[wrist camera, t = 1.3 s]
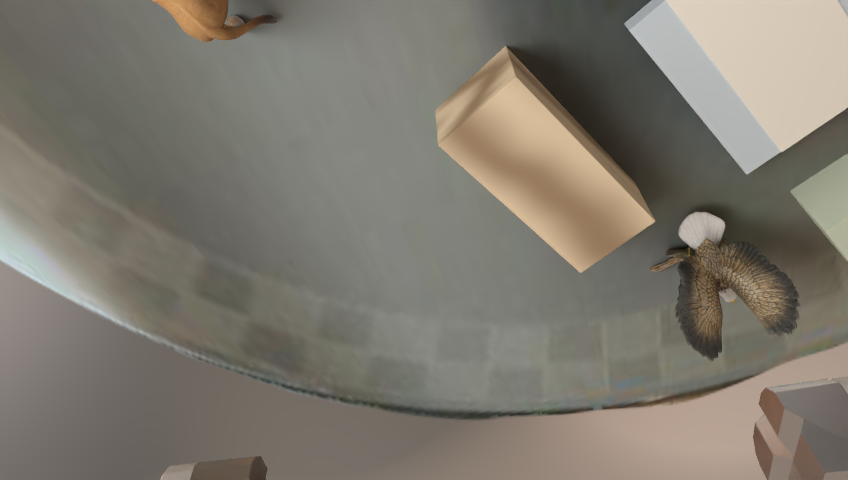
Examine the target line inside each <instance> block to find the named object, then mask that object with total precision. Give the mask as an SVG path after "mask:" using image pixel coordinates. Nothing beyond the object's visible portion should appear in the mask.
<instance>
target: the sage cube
mask: <svg viewBox="0 0 848 480" xmlns="http://www.w3.org/2000/svg"><path fill="white" fill-rule="evenodd" d="M790 192H791V193H792V194H793V196H794V197H795V198H796V200H797V201H798V202H799V203H800V205H801V206H802V207H803V209H804V210H805V211H806V212H807V214H808V215H809V216H810V217H811V219H812V220H813V221H814V223H815V224H816V225H817V226H818V228H819V229H820V230H821V231H822V233H823V234H824V235H825V236H826V237H827V238H828V240H829V241H830V242H831V243H832V244H833V245H834V246H835V248H836V249H837V250H838V251H839V252H840V253H841V255H842V256H843V257H844V258H845V259H846V260H847V262H848V154H846V155H844V156H843V157H841V158H840V159H838V160H837V161H835V162H834V163H832V164H831V165H829V166H828V167H826V168H824V169H823V170H821V171H820V172H818V173H817V174H815V175H814V176H812V177H811V178H809V179H808V180H806V181H804V182H803V183H801V184H800V185H798V186H797V187H795V188H794V189H792V190H791V191H790Z"/></svg>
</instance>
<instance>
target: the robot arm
mask: <svg viewBox="0 0 848 480" xmlns="http://www.w3.org/2000/svg"><path fill="white" fill-rule="evenodd" d="M759 405H760V407H761V409H762V410H763V412H764V415H763V416H762V417H761V418H760V419H759V420H758V421H756V422H755V427H754V435H753V439H754V445H755V451H756V456H757V458H758V461H759V464H760V466H761V469H762V471H763V472H764V474H765V476H766V478H767V480H848V377H842V378H834V379H830V380H829V379H822V380H816V381H808V382H802V383H795V384H788V385H781V386H774V387H767V388H765V389H764V390H763V391H762V393H761V396H760V401H759ZM266 474H267V466H266V465H265V463H264V461H263V459H262V457H261V456H258V457H257V456H256V457H247V458H237V459H228V460H219V461H209V462H199V463H191V464H183V465H175V466H169V467H168V469H167V470H166V471H165V473H164V474H163V476H162V477H161V480H266Z"/></svg>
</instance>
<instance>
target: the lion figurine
mask: <svg viewBox="0 0 848 480" xmlns="http://www.w3.org/2000/svg"><path fill="white" fill-rule="evenodd" d="M151 1H153V2H155V3H157V4H159V5H160V6H162V7H164V8H165V9H166V10H167V11H169V12H170V13H171V15H172V16H173V17H174V18H175V20H176V21H177V23H178V24H179V25H180V26H181V28H182V29H183V30H184V31H185V32H186V33H187V34H188V35H190V36H192V37H194V38H196V39H198V40H201V41H203V42H208V41H211V40H213V39H218V40H231V39H236V38H238V37H240V36H241V35H243V34H245V33H246V32H248V31H249V30H250V29H252V28H253V27H255V26H258V25H260V24H263V23H276V22H277V18H275V17H273V16H271V15H262V16H259V17H256V18H254V19H252V20H250V21H248V22H247V23H244V22H243V20H242V19H241V18H239V17H238V16H235V15H233V16H231V17H228V19H227V22H228V25H225V24H224V23H225V20H226V18H227V13H228V0H151Z"/></svg>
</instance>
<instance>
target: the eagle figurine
mask: <svg viewBox="0 0 848 480" xmlns="http://www.w3.org/2000/svg"><path fill="white" fill-rule="evenodd" d="M724 230H725V222H724V221H723V220H721V219H720V218H719V217H716V216H714V215H712V214H710V213H708V212H694V213H693V214H690V215H688V216H687V217H686V218H685V219H684V220H683V222H682V224H681V225H680V227H679V231H678V235H679V237H680V238H681V239H682V240H683V241H684V242H685V243H686V244H688V245H689V246H690V247H688V248H687V249H669V250H667V251H666V253H667V254H666V256H667V257H670V256H673V257H671V258H670V259H668V260H667V261H665V262H663V263H661V264H658V265H655V266H653V267H652V268H651V271H654V272H655V271H663V270H665V269H666V268H667V267H670V266H672V265H675V264H677V263H678V262H680V261H681V263H680V264H679V266H678V268H677V271H678V272H679V275H680V277H681V279H680V282H681V284H680V286H679V288H678V289H679V297H678V298H677V299H678V304H677V305H676V308H675V311H676V318H679V320H678V323H679V324H680V325H681V326H680V328H681V330H682V331H683V334H684V337H685V338H686V340H687V343H688V345H691V346H692V348H693V349H694V350H695V351H697V352H699V354H700V355H701V356H702V357H704V356H706V357H707V358H708V359H709V360H710V361H713V360H714V358H718V352H719V353H721V352H722V340H721V338H722V337H721V335H722V334H721V328H722V318H723V315H722V308H721V304H720V299H719V294H720V296H722V297H723V298H724V300H725V301H726V302H733V303H735V302H736V300H735V299H736V297H737V296H736V294H737V295H738V296H739V297H740V298H741V299H742V300H743V301H744V303H745V304H746V305H747V306H748V307H749V308H750V309H751V310H752V311H753V313H754V314H755V315H756V317H757V318H758V320H759V321H760V322H761V324H762V325H763V327H764V329H765V330H766V331H767V332H768V334H769V335H774V334H777V335H778V336H782V335H783V334H784V333H785V334H787V335H791V334H792V330H796V329H797V324H796V321H798V320H799V313H798V311H797V310H796V308H799V307H800V303H799V302H798V300H797V299H798V298H799V294H798V292H797V290H796V288H795V287H794V286H793V282H792V281H791V280H790V279H789V278H788V276H787V275H786V274H785V273H783V272H780V270H779V269H778V268H777V267H776V266H775V265H773V264H770V261H769V260H767V259H766V258H765V256H763V255H761V251H759V250H758V248H757V247H754V246H753V245H751V244H748V243H747V242H737V243H736V244H734V243H731V244H729V245H726V244H725V243H726V240H721V239H722V236H723V233H724Z"/></svg>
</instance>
